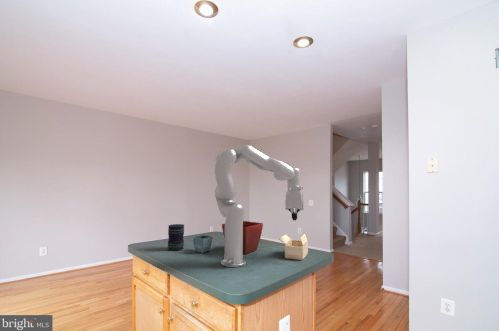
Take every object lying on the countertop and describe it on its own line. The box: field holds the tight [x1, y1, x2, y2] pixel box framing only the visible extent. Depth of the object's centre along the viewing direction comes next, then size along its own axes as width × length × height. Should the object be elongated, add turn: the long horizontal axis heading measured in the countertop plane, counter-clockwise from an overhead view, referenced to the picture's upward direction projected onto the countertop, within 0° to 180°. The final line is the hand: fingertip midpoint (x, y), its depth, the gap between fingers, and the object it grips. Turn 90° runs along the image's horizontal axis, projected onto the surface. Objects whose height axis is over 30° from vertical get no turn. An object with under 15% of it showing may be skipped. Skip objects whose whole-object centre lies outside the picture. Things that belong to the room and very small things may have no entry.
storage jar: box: [167, 223, 185, 252], centre depth 156 cm, size 10×10×15 cm
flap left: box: [278, 234, 292, 245], centre depth 145 cm, size 14×4×1 cm
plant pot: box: [221, 220, 264, 255], centre depth 152 cm, size 19×19×17 cm
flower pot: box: [192, 234, 213, 254], centre depth 150 cm, size 9×9×9 cm
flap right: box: [299, 233, 308, 246], centre depth 141 cm, size 14×4×1 cm
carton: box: [284, 239, 309, 261], centre depth 142 cm, size 17×10×7 cm, turn 157°
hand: (294, 220), depth 144 cm, fingers closed
